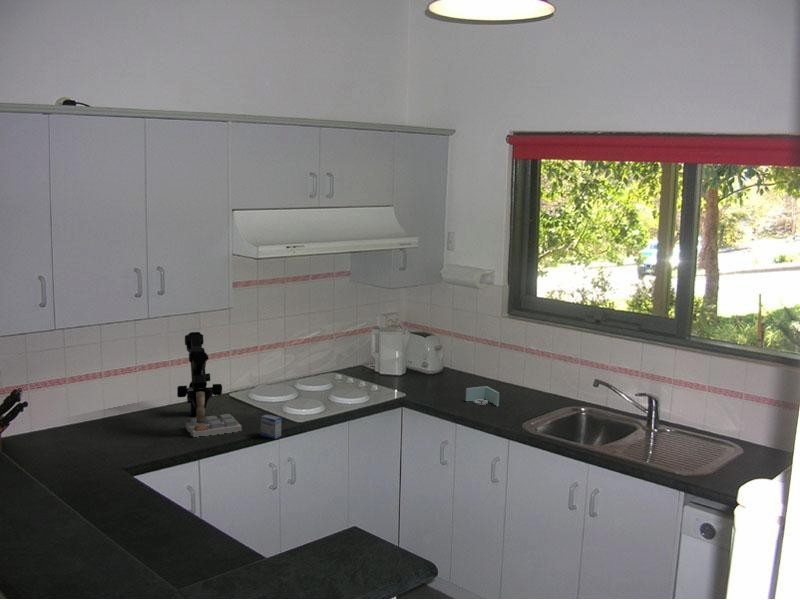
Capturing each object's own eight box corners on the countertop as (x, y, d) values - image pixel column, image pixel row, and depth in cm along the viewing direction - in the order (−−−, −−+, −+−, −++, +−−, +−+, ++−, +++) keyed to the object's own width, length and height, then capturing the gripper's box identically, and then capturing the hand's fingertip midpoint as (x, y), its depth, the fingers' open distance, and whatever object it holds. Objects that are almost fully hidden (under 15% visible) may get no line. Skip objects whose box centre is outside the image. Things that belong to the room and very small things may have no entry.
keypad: (186, 428, 363) (186, 418, 362) (232, 422, 373) (232, 412, 372) (193, 438, 352) (193, 427, 351) (241, 431, 361) (241, 421, 361)
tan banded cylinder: (194, 421, 355) (194, 392, 353) (201, 419, 358) (201, 391, 355) (199, 423, 353) (199, 394, 350) (206, 421, 355) (206, 392, 353)
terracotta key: (194, 431, 357) (194, 425, 357) (204, 430, 359) (204, 424, 359) (197, 434, 353) (197, 429, 353) (207, 433, 355) (207, 427, 355)
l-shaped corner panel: (465, 402, 414) (466, 388, 412) (485, 400, 419) (486, 386, 417) (477, 410, 403) (478, 395, 402) (498, 407, 408) (499, 392, 407)
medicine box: (260, 435, 357) (260, 416, 356) (266, 432, 361) (266, 413, 359) (275, 439, 354) (275, 419, 352) (281, 436, 357) (281, 416, 356)
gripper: (177, 367, 352) (178, 400, 344) (221, 365, 357) (224, 398, 349) (176, 380, 361) (178, 412, 352) (220, 378, 366) (222, 410, 358)
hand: (200, 408), depth 353 cm, fingers closed on tan banded cylinder, 3 cm apart
